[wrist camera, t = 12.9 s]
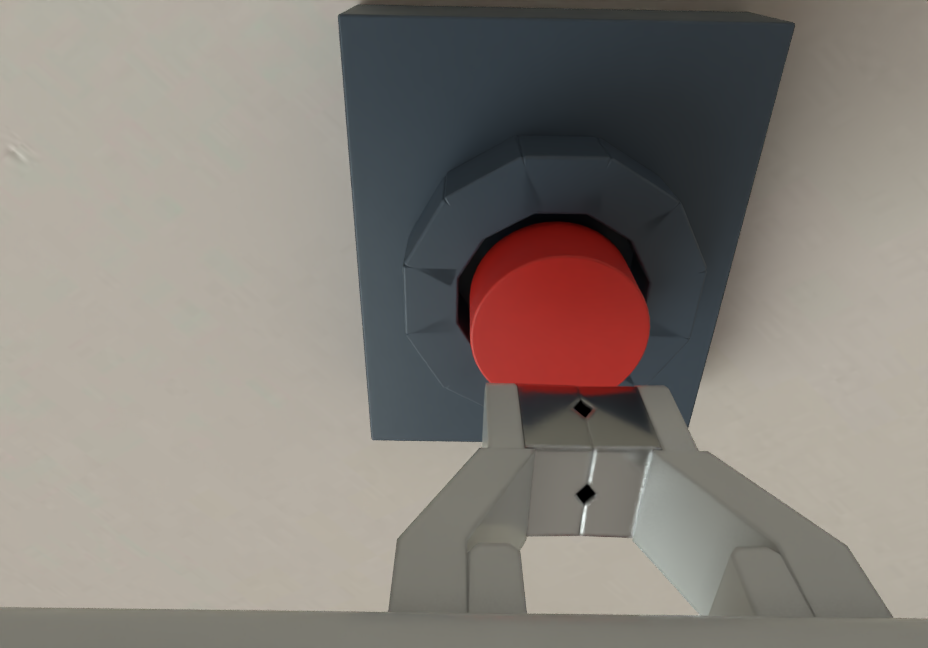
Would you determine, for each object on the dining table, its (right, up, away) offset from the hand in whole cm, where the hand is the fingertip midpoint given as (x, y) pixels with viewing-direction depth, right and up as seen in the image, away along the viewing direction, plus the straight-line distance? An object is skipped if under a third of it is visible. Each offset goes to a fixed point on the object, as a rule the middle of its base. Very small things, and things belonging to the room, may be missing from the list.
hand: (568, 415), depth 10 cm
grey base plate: (0, +4, +7) cm, 8 cm away
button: (0, +2, +3) cm, 4 cm away
